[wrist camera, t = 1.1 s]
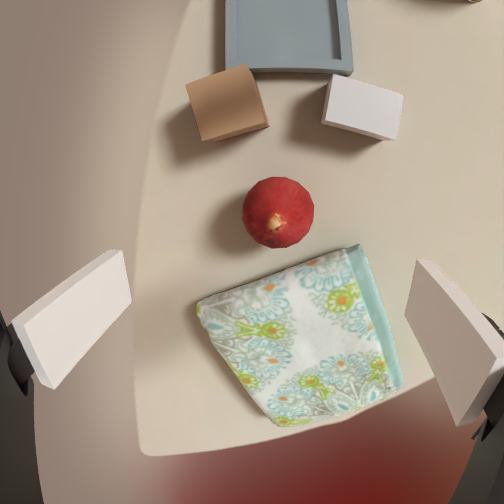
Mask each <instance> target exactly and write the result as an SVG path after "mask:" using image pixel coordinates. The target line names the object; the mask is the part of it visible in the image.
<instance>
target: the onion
mask: <svg viewBox="0 0 504 504" xmlns="http://www.w3.org/2000/svg"><path fill="white" fill-rule="evenodd" d="M313 216H314V204H313V202H312V199H311V197H310V194H309V192H308V191H307V190H306V189H304V188H303V187H302V186H301V185H300V184H299V183H298V182H295V181H293V180H291V179H288V178H286V177H270V178H267V179H264V180H262V181H259V182H258V183H257V184H256V185H255V186H254V187H253V188H252V189H251V190H250V191H249V192H248V194H247V197H246V199H245V202H244V204H243V222H244V224H245V227H246V229H247V232H248V233H249V234H250V235H251V236H252V237H253V238H254V239H255V240H256V241H257V242H258V243H260V244H263V245H265V246H267V247H270V248H287V247H289V246H291V245H293V244H296V243H298V242H299V241H300V240H301V239H302V238H303V237H304V236H305V235H306V234H307V233H308V232H309V230H310V227H311V225H312V222H313Z"/></svg>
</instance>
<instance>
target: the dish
mask: <svg viewBox="0 0 504 504" xmlns="http://www.w3.org/2000/svg"><path fill="white" fill-rule="evenodd" d="M244 64H246V65H247V66H248V68H249V69H250V71H251V73H271V72H297V73H323V74H338V75H349V76H350V75H351V74H352V72H353V71H354V70H353V55H352V43H351V32H350V23H349V14H348V6H347V0H226V3H225V67H226V70H228V69H231V68H234V67H237V66H241V65H244Z"/></svg>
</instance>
